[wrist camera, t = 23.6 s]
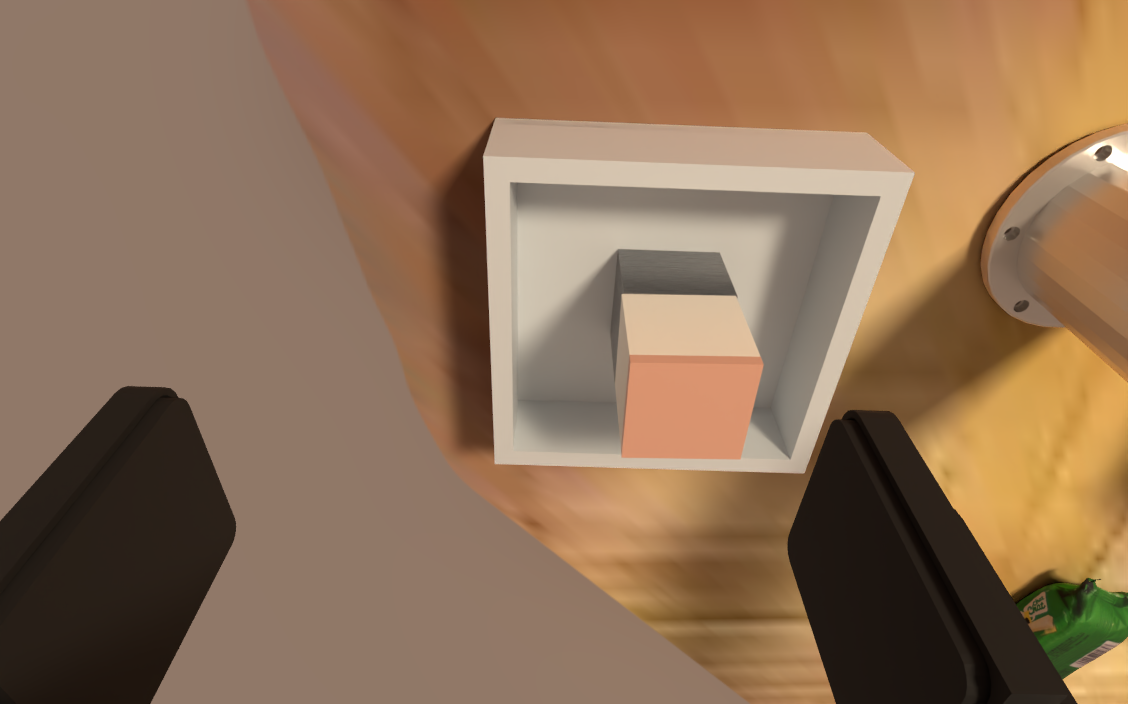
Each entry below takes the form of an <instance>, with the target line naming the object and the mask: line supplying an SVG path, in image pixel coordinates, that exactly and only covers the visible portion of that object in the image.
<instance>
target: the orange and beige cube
mask: <svg viewBox="0 0 1128 704" xmlns="http://www.w3.org/2000/svg"><path fill="white" fill-rule="evenodd" d="M763 366H764V364H763V361H762V359H761V356H760V354H759V352H758V349H757V347H756V344H755V342H754V339H753V337H752V334H751V332H750V329H749V327H748V324H747V322H746V319H745V317H744V315H743V312H742V310H741V307H740V305H739V302H738V300H737V297H736V296H720V295H656V294H622V297H621V310H620V323H619V336H618V349H617V362H616V375H615V390H616V401H617V413H618V424H619V435H620V446H621V457H622V458H675V459H741V455H742V451H743V447H744V443H745V439H746V435H747V431H748V427H749V423H750V419H751V415H752V411H753V407H754V402H755V398H756V394H757V390H758V386H759V382H760V378H761V374H762V370H763Z"/></svg>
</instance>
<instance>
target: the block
mask: <svg viewBox="0 0 1128 704" xmlns="http://www.w3.org/2000/svg"><path fill="white" fill-rule="evenodd" d="M622 294H656V295H720V296H736V297H738V296H737V294H736V291H735V289H734V286H733V284H732V281H731V279H730V276H729V274H728V272H727V269H726V267H725V264H724V262H723V259H722V257H721V254H720V252H691V251H662V250H633V249H618V254H617V265H616V275H615V286H614V297H613V308H612V319H611V330H610V337H611V348H612V359H613V370H614V382H615V375H616V362H617V349H618V336H619V323H620V310H621V297H622Z"/></svg>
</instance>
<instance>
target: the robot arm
mask: <svg viewBox="0 0 1128 704" xmlns="http://www.w3.org/2000/svg"><path fill="white" fill-rule="evenodd" d="M981 272H982V278H983V283H984V285H985V287H986V289H987V291H988V293H989V295H990V296H991V297H992V298H993V299H994V300H995V302H996V303H997V304H998V305H999V306H1000V307H1001V308H1002V309H1003V310H1004V311H1006V312H1007V313H1008V314H1009V315H1010V316H1012V317H1014V318H1016V319H1018V320H1020V321H1023V322H1025V323H1028V324H1032V325H1037V326H1041V327H1060V328H1063V327H1066V328H1067V329H1068V330H1070V331H1071V332H1072V333H1073V334H1074V335H1075V336H1076V337H1077V338H1079V339H1080V340H1081V341H1082V342H1083V343H1084V344H1085V345H1086V346H1087V347H1089V348H1090V349H1091V350H1092V351H1093V352H1094V353H1095V354H1096V355H1098V356H1099V357H1100V358H1101V359H1102V360H1103V361H1104V362H1105V363H1107V364H1108V365H1109V366H1110V367H1111V368H1112V369H1113V370H1114V371H1116V372H1117V373H1118V374H1119V375H1120V376H1121V377H1122V378H1123V379H1124V380H1126V381H1127V382H1128V124H1122V125H1119V126H1115V127H1112V128H1109V129H1106V130H1102V131H1099V132H1096V133H1094V134H1092V135H1090V136H1088V137H1086V138H1083V139H1081V140H1079V141H1077V142H1075V143H1073V144H1071V145H1069V146H1068V147H1066V148H1065V149H1063V150H1061V151H1060V152H1058V153H1057V154H1055V155H1053V156H1052V157H1050V158H1049V159H1048V160H1046V161H1045V162H1044V163H1043V164H1041V165H1040V166H1039V167H1038V168H1036V169H1035V170H1034V171H1033V172H1032V173H1030V174H1029V175H1028V176H1027V177H1026V178H1025V179H1024V180H1023V181H1022V182H1021V183H1020V184H1019V185H1018V187H1017V188H1016V189H1015V190H1014V191H1013V192H1012V193H1011V194H1010V195H1009V197H1008V198H1007V200H1006V201H1005V202H1004V204H1003V205H1002V206H1001V208H1000V209H999V211H998V212H997V214H996V216H995V218H994V220H993V222H992V224H991V226H990V227H989V229H988V231H987V235H986V238H985V241H984V245H983V248H982V255H981ZM235 532H236V521H235V518H234V515H233V513H232V510H231V508H230V505H229V503H228V500H227V498H226V495H225V493H224V490H223V488H222V485H221V483H220V480H219V478H218V476H217V473H216V470H215V468H214V466H213V463H212V460H211V458H210V456H209V453H208V451H207V448H206V446H205V443H204V441H203V438H202V436H201V433H200V431H199V428H198V426H197V423H196V421H195V418H194V416H193V413H192V411H191V408H190V406H189V404H188V402H187V401H186V400H184V399H182V398H178V396H177V394H176V393H175V392H174V391H173V390H172V389H171V388H165V387H163V388H162V387H135V386H127V387H123V388H121V389H120V390H118V391H117V392H116V393H115V394H114V395H113V396H112V397H111V398H110V399H109V401H108V402H107V403H106V404H105V405H104V406H103V407H102V408H101V410H100V411H99V412H98V413H97V414H96V415H95V416H94V417H93V418H92V420H91V421H90V422H89V423H88V424H87V425H86V426H85V427H84V428H83V430H82V431H81V432H80V433H79V434H78V435H77V436H76V438H74V440H73V441H72V442H71V443H70V444H69V445H68V446H67V447H66V449H65V450H64V451H63V452H62V453H61V454H60V455H59V456H58V457H57V459H56V460H55V461H54V462H53V463H52V464H51V465H50V466H49V467H48V469H47V470H46V471H45V472H44V473H43V474H42V475H41V476H40V477H39V479H38V480H37V481H36V482H35V483H34V484H33V485H32V486H31V488H30V489H29V490H28V491H27V492H26V493H25V494H24V495H23V497H22V498H21V499H20V500H19V501H18V502H17V503H16V504H15V505H14V507H13V508H12V509H11V510H10V511H9V512H8V513H7V514H6V515H5V517H4V518H3V519H2V520H1V521H0V704H150V703H151V701H152V699H153V697H154V695H155V693H156V692H157V690H158V688H159V686H160V684H161V682H162V680H163V678H164V676H165V674H166V672H167V670H168V668H169V666H170V664H171V662H172V660H173V658H174V656H175V655H176V652H177V651H178V649H179V647H180V645H181V643H182V641H183V639H184V637H185V635H186V633H187V631H188V629H189V627H190V625H191V623H192V621H193V620H194V618H195V616H196V614H197V612H198V610H199V608H200V606H201V604H202V602H203V600H204V598H205V596H206V594H207V592H208V590H209V588H210V586H211V584H212V582H213V580H214V579H215V577H216V575H217V573H218V571H219V569H220V567H221V565H222V563H223V561H224V559H225V557H226V555H227V553H228V551H229V549H230V547H231V545H232V543H233V541H234V537H235ZM788 556H789V560H790V564H791V567H792V570H793V573H794V576H795V579H796V582H797V585H798V588H799V591H800V594H801V597H802V601H803V604H804V607H805V610H806V613H807V616H808V619H809V622H810V625H811V628H812V631H813V634H814V637H815V640H816V644H817V647H818V650H819V653H820V656H821V659H822V662H823V665H824V668H825V671H826V674H827V677H828V680H829V683H830V687H831V690H832V693H833V696H834V699H835V702H836V704H1077V702H1076V701H1075V699H1074V697H1073V696H1072V694H1071V693H1070V691H1069V689H1068V688H1067V686H1066V685H1065V683H1064V681H1063V680H1062V678H1061V676H1060V675H1059V673H1058V672H1057V670H1056V668H1055V667H1054V665H1053V664H1052V662H1051V660H1050V659H1049V657H1048V656H1047V654H1046V652H1045V651H1044V649H1043V647H1042V646H1041V644H1040V643H1039V641H1038V639H1037V638H1036V636H1035V635H1034V633H1033V631H1032V630H1031V628H1030V627H1029V625H1028V623H1027V622H1026V620H1025V618H1024V617H1023V615H1022V614H1021V612H1020V610H1019V609H1018V607H1017V606H1016V604H1015V602H1014V601H1013V599H1012V598H1011V596H1010V594H1009V593H1008V591H1007V590H1006V588H1005V586H1004V585H1003V583H1002V581H1001V580H1000V578H999V577H998V575H997V573H996V572H995V570H994V569H993V567H992V565H991V564H990V562H989V561H988V559H987V557H986V556H985V554H984V552H983V551H982V549H981V548H980V546H979V544H978V543H977V541H976V540H975V538H974V536H973V535H972V533H971V532H970V530H969V528H968V527H967V525H966V523H965V522H964V520H963V519H962V518H961V516H960V515H959V514H958V513H957V511H956V510H955V509H953V507H952V506H951V504H950V502H949V501H948V499H947V497H946V496H945V494H944V493H943V491H942V489H941V488H940V486H939V484H938V483H937V481H936V480H935V478H934V476H933V475H932V473H931V471H930V470H929V468H928V467H927V465H926V463H925V462H924V460H923V458H922V457H921V455H920V454H919V452H918V450H917V449H916V447H915V445H914V444H913V442H912V441H911V439H910V437H909V436H908V434H907V433H906V431H905V429H904V428H903V426H902V424H901V423H900V421H899V420H898V418H897V417H896V416H895V415H894V414H893V413H891V412H889V411H864V410H850V411H848V412H846V413H845V414H844V416H843V418H842V420H834V421H833V422H832V424H831V425H830V428H829V430H828V433H827V436H826V438H825V441H824V444H823V446H822V449H821V452H820V454H819V457H818V459H817V462H816V465H815V467H814V470H813V473H812V475H811V478H810V481H809V483H808V486H807V489H806V491H805V494H804V496H803V499H802V502H801V504H800V507H799V510H798V512H797V515H796V518H795V520H794V523H793V526H792V528H791V531H790V534H789V537H788Z"/></svg>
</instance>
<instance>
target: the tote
mask: <svg viewBox="0 0 1128 704" xmlns="http://www.w3.org/2000/svg"><path fill="white" fill-rule="evenodd" d="M483 163H484V189H485V216H486V242H487V269H488V296H489V322H490V349H491V375H492V402H493V429H494V455H495V464H516V465H547V466H579V467H611V468H643V469H675V470H707V471H739V472H771V473H803V474H804V473H805V471H806V468H807V465H808V462H809V460H810V457H811V454H812V452H813V449H814V446H815V443H816V441H817V438H818V435H819V433H820V430H821V427H822V424H823V422H824V419H825V416H826V413H827V411H828V408H829V405H830V403H831V400H832V397H833V394H834V392H835V389H836V386H837V384H838V381H839V378H840V375H841V373H842V370H843V367H844V365H845V362H846V359H847V356H848V354H849V351H850V348H851V346H852V343H853V340H854V337H855V335H856V332H857V329H858V326H859V324H860V321H861V318H862V316H863V313H864V310H865V307H866V305H867V302H868V299H869V297H870V294H871V291H872V288H873V286H874V283H875V280H876V278H877V275H878V272H879V269H880V267H881V264H882V261H883V259H884V256H885V253H886V250H887V248H888V245H889V242H890V239H891V237H892V234H893V231H894V229H895V226H896V223H897V220H898V218H899V215H900V212H901V210H902V207H903V204H904V201H905V199H906V196H907V193H908V191H909V188H910V185H911V182H912V180H913V177H914V174H915V172H914V171H912V170H911V169H910V168H909V167H908V166H906V165H905V164H904V163H903V162H902V161H900V160H899V159H898V158H897V157H895V156H894V155H893V154H892V153H891V152H889V151H888V150H887V149H886V148H885V147H883V146H882V145H881V144H880V143H879V142H877V141H876V140H875V139H874V138H873V137H871V136H870V135H869V134H868V133H865V132H840V131H815V130H790V129H765V128H739V127H714V126H689V125H664V124H639V123H614V122H588V121H563V120H538V119H513V118H495V121H494V124H493V127H492V130H491V133H490V137H489V140H488V143H487V146H486V149H485V152H484V155H483ZM618 249H633V250H662V251H691V252H720V254H721V257H722V259H723V262H724V264H725V267H726V269H727V272H728V274H729V276H730V279H731V281H732V284H733V286H734V289H735V291H736V294H737V296H738V297H737V300H738V302H739V305H740V307H741V310H742V312H743V315H744V317H745V319H746V322H747V324H748V327H749V329H750V332H751V334H752V337H753V339H754V342H755V344H756V347H757V349H758V352H759V354H760V356H761V359H762V361H763V364H764V366H763V370H762V374H761V378H760V382H759V386H758V390H757V394H756V398H755V402H754V407H753V411H752V415H751V419H750V423H749V427H748V431H747V435H746V439H745V443H744V447H743V451H742V455H741V459H675V458H622V457H621V446H620V435H619V424H618V413H617V401H616V390H615V382H614V370H613V359H612V348H611V337H610V330H611V319H612V308H613V297H614V286H615V275H616V265H617V254H618Z"/></svg>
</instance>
